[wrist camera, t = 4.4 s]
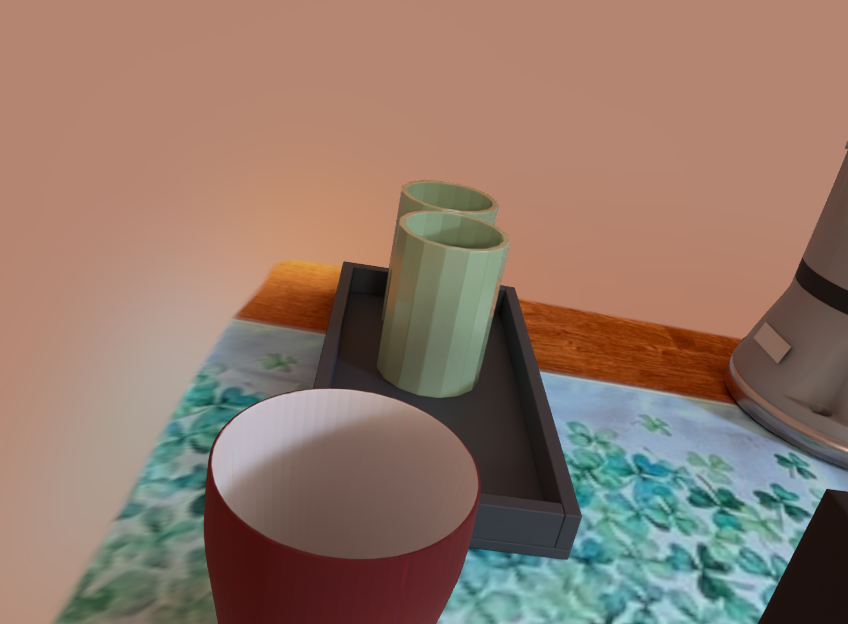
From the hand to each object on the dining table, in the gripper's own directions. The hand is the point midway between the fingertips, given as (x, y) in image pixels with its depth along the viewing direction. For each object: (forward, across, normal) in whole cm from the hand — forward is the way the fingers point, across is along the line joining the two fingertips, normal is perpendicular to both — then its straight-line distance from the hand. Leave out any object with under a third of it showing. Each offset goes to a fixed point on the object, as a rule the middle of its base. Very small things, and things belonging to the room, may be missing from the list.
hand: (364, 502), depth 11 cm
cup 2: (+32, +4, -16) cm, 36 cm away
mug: (+11, 0, -17) cm, 20 cm away
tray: (+30, +4, -16) cm, 34 cm away
